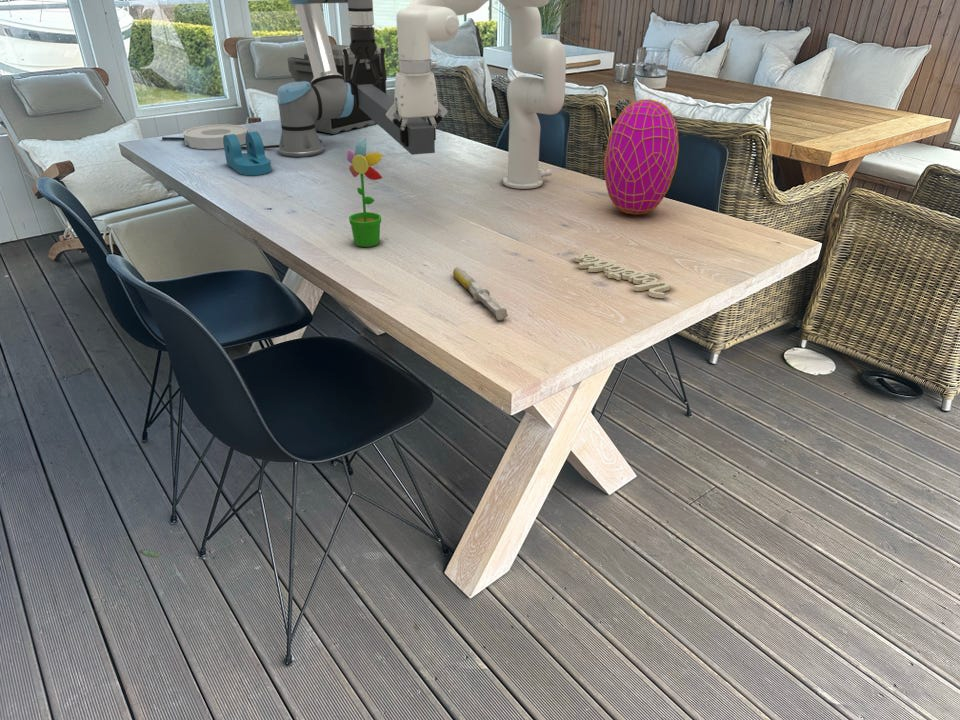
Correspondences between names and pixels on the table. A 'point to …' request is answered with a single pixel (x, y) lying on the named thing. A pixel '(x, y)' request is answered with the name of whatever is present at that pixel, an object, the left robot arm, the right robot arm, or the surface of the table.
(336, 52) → the electronic device
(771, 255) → the table surface
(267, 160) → the camera mount
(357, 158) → the potted flower
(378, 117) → the post
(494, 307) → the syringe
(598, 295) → the table surface
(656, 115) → the decorative egg
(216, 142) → the ashtray
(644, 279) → the decorative sign
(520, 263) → the table surface
